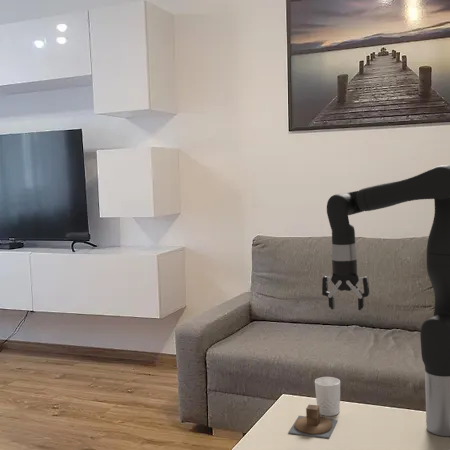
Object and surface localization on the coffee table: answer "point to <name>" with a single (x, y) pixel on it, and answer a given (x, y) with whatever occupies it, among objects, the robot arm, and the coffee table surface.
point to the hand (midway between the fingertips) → (346, 309)
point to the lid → (313, 422)
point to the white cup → (328, 395)
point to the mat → (323, 435)
